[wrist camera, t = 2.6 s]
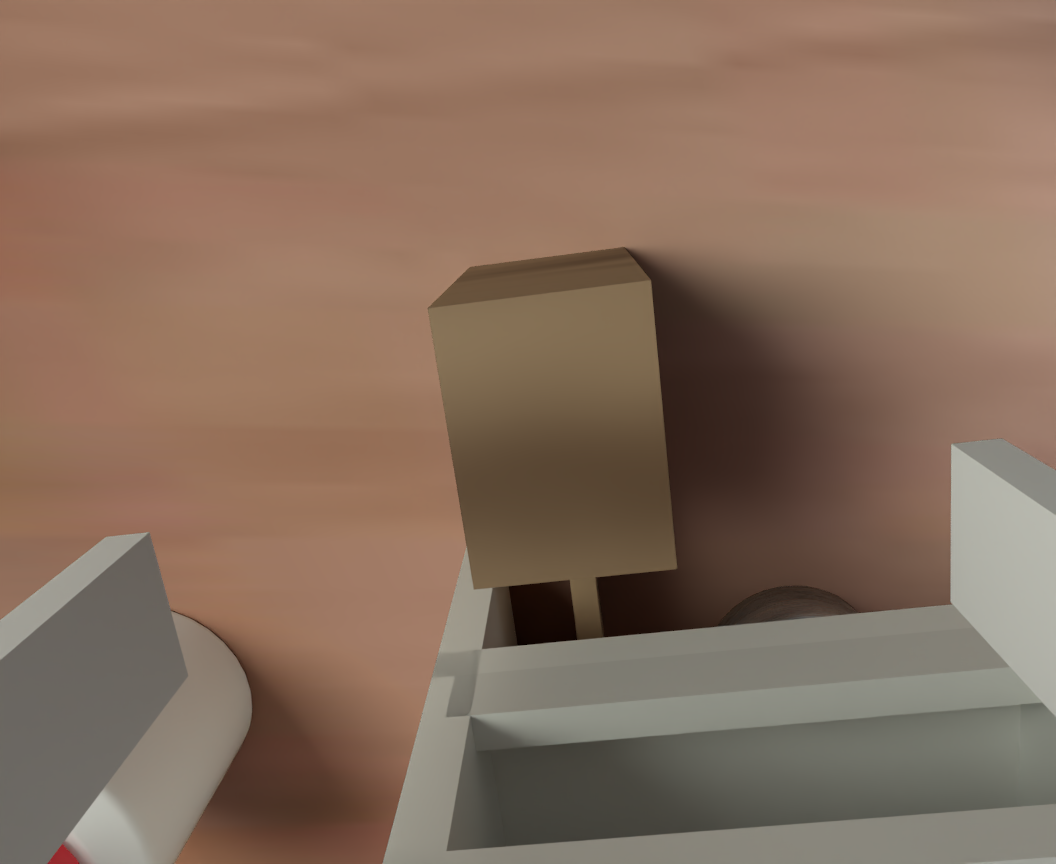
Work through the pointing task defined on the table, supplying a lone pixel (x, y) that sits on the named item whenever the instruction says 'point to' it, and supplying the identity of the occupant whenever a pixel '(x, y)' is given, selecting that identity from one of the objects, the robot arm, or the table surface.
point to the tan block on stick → (556, 423)
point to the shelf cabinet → (727, 745)
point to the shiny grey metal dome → (786, 606)
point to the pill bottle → (170, 763)
